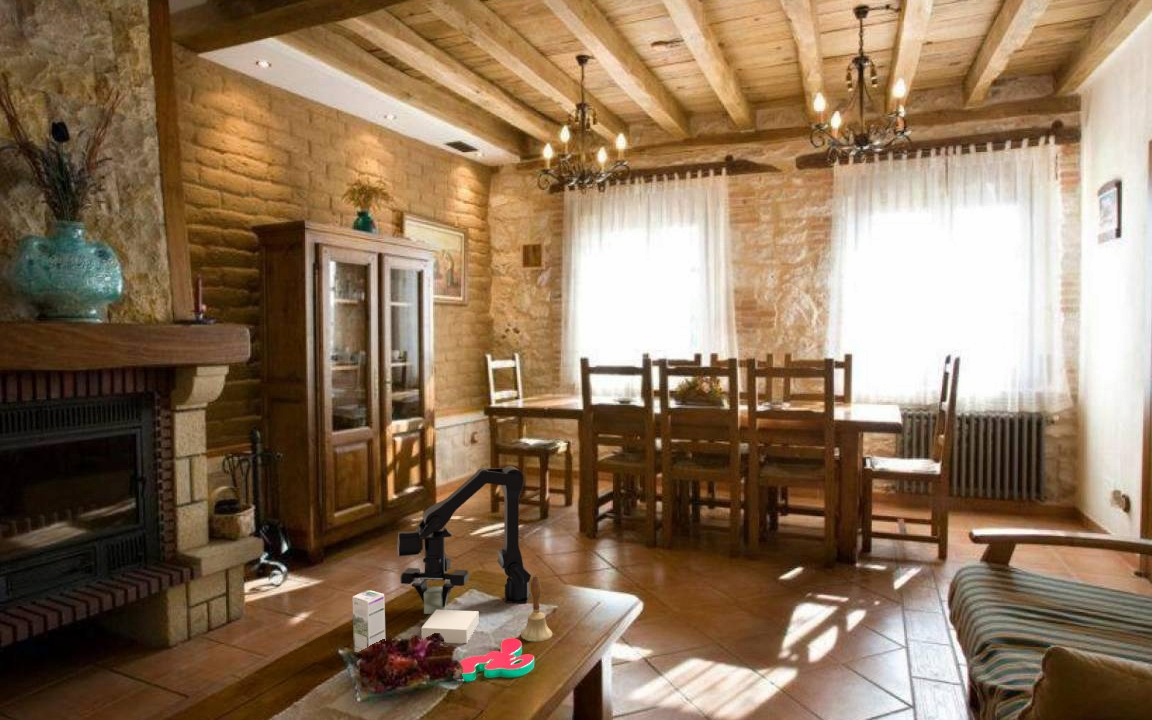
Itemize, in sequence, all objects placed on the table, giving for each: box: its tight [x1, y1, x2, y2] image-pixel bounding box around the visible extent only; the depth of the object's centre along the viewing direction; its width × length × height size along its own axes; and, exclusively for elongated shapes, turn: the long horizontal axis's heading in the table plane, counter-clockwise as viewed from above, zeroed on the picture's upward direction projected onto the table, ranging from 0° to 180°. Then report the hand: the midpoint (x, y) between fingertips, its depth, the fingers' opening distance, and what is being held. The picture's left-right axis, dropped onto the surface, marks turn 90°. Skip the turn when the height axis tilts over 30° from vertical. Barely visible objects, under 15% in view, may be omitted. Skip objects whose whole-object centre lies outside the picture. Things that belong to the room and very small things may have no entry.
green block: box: [423, 586, 447, 615], centre depth 199 cm, size 5×5×6 cm
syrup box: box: [352, 589, 386, 653], centre depth 173 cm, size 6×6×14 cm
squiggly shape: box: [459, 637, 535, 683], centre depth 166 cm, size 20×16×2 cm
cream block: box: [420, 609, 480, 644], centre depth 184 cm, size 12×12×4 cm
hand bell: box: [520, 574, 553, 643], centre depth 182 cm, size 8×8×16 cm
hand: (435, 606), depth 199 cm, fingers closed on green block, 5 cm apart
